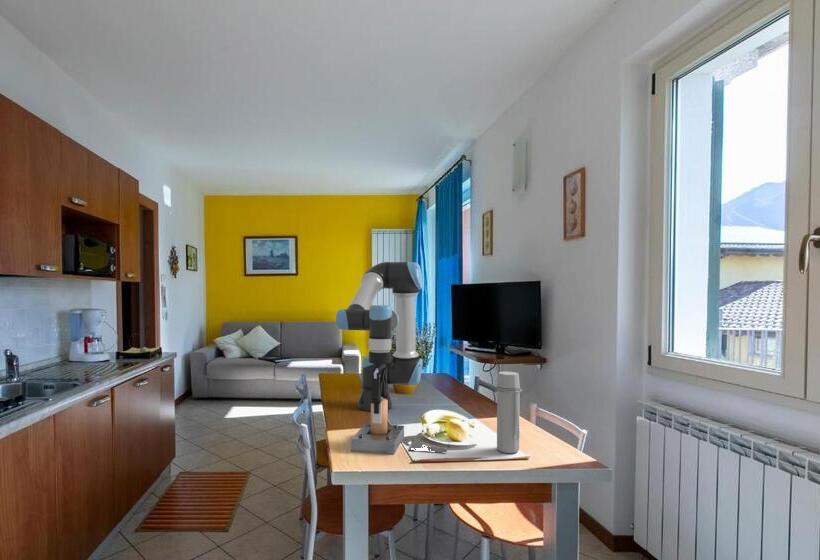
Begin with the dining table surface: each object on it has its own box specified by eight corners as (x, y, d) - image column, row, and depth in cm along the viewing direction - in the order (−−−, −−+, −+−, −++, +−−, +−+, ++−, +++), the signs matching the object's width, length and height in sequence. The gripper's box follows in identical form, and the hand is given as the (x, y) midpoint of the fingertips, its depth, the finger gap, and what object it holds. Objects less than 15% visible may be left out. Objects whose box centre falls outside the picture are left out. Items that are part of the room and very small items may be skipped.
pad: (414, 439, 159) (414, 438, 159) (449, 441, 157) (449, 440, 157) (408, 451, 147) (408, 449, 147) (446, 453, 145) (446, 452, 145)
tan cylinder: (372, 433, 157) (373, 395, 157) (388, 434, 156) (389, 396, 156) (368, 438, 151) (369, 398, 152) (385, 439, 150) (385, 399, 151)
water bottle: (491, 448, 151) (492, 371, 152) (511, 445, 154) (511, 370, 155) (508, 457, 142) (508, 376, 143) (528, 454, 145) (529, 375, 146)
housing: (365, 434, 164) (365, 421, 164) (404, 437, 162) (404, 423, 162) (351, 451, 146) (351, 436, 146) (394, 454, 144) (394, 439, 144)
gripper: (375, 347, 164) (374, 412, 164) (362, 354, 146) (360, 427, 145) (396, 348, 163) (395, 414, 162) (385, 354, 145) (384, 429, 144)
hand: (379, 420), depth 154 cm, fingers closed on tan cylinder, 6 cm apart
